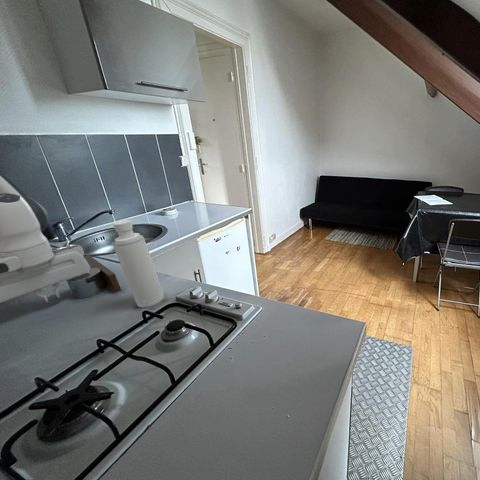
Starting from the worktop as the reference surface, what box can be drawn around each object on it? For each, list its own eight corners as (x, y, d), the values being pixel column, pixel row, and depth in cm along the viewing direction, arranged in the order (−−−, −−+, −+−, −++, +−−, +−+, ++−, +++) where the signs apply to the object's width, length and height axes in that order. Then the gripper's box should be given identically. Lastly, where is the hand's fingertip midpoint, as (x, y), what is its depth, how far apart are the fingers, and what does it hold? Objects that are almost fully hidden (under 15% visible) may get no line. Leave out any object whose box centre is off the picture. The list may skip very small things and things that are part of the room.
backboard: (115, 292, 79) (108, 275, 76) (90, 271, 93) (83, 256, 91) (121, 290, 80) (114, 273, 77) (95, 269, 94) (88, 254, 92)
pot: (81, 302, 75) (72, 284, 72) (69, 293, 80) (60, 276, 77) (113, 288, 81) (106, 271, 79) (99, 281, 86) (92, 265, 84)
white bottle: (166, 300, 73) (136, 215, 63) (138, 311, 69) (102, 222, 60) (162, 290, 78) (134, 210, 68) (135, 300, 74) (102, 216, 65)
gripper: (76, 239, 78) (94, 279, 83) (-32, 268, 63) (-2, 315, 68) (82, 244, 74) (101, 285, 80) (-31, 275, 59) (1, 323, 65)
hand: (53, 299), depth 74 cm, fingers closed
